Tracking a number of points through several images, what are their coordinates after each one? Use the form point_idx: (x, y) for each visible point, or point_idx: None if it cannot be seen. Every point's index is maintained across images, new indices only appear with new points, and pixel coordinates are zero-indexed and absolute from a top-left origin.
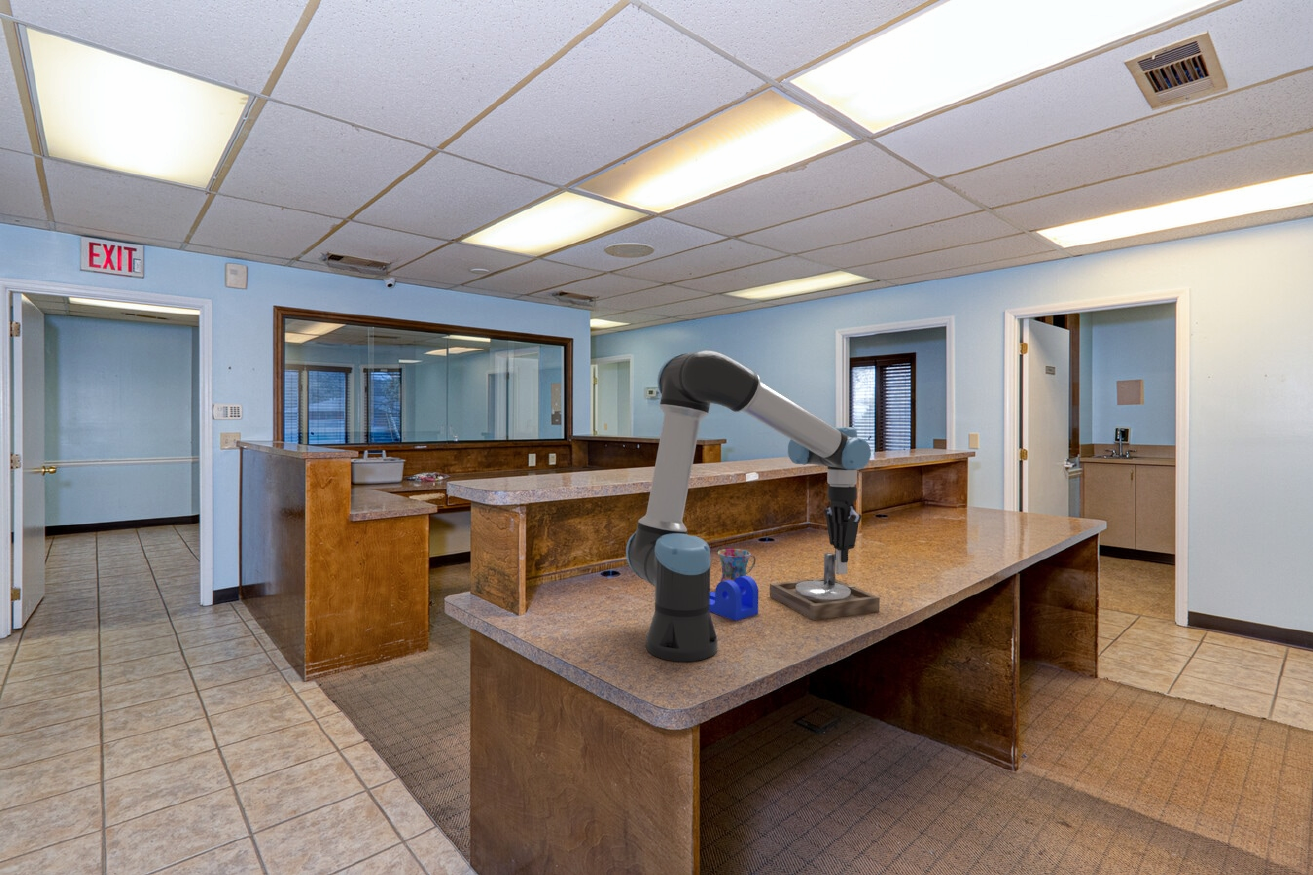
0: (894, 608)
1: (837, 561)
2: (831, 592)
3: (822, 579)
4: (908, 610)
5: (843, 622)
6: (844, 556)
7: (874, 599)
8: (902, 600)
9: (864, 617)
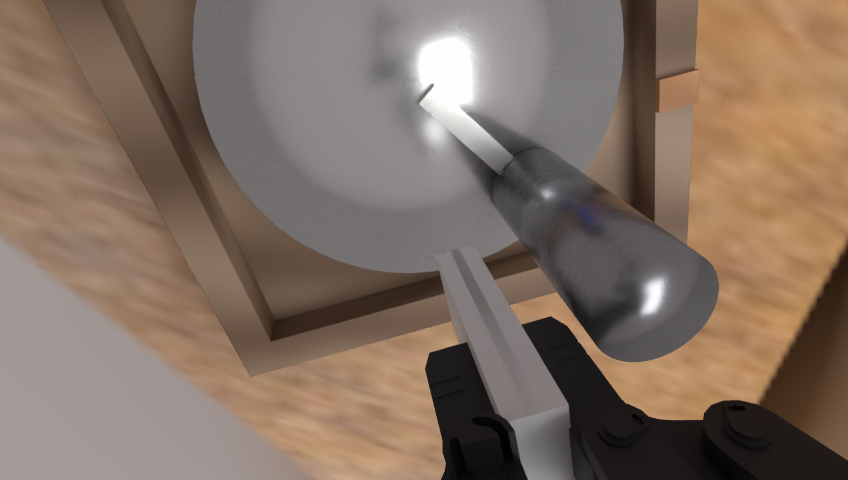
0: (309, 398)
1: (486, 313)
2: (304, 113)
3: (661, 188)
4: (281, 437)
5: (18, 58)
6: (435, 410)
7: (235, 344)
8: (416, 455)
9: (149, 223)
